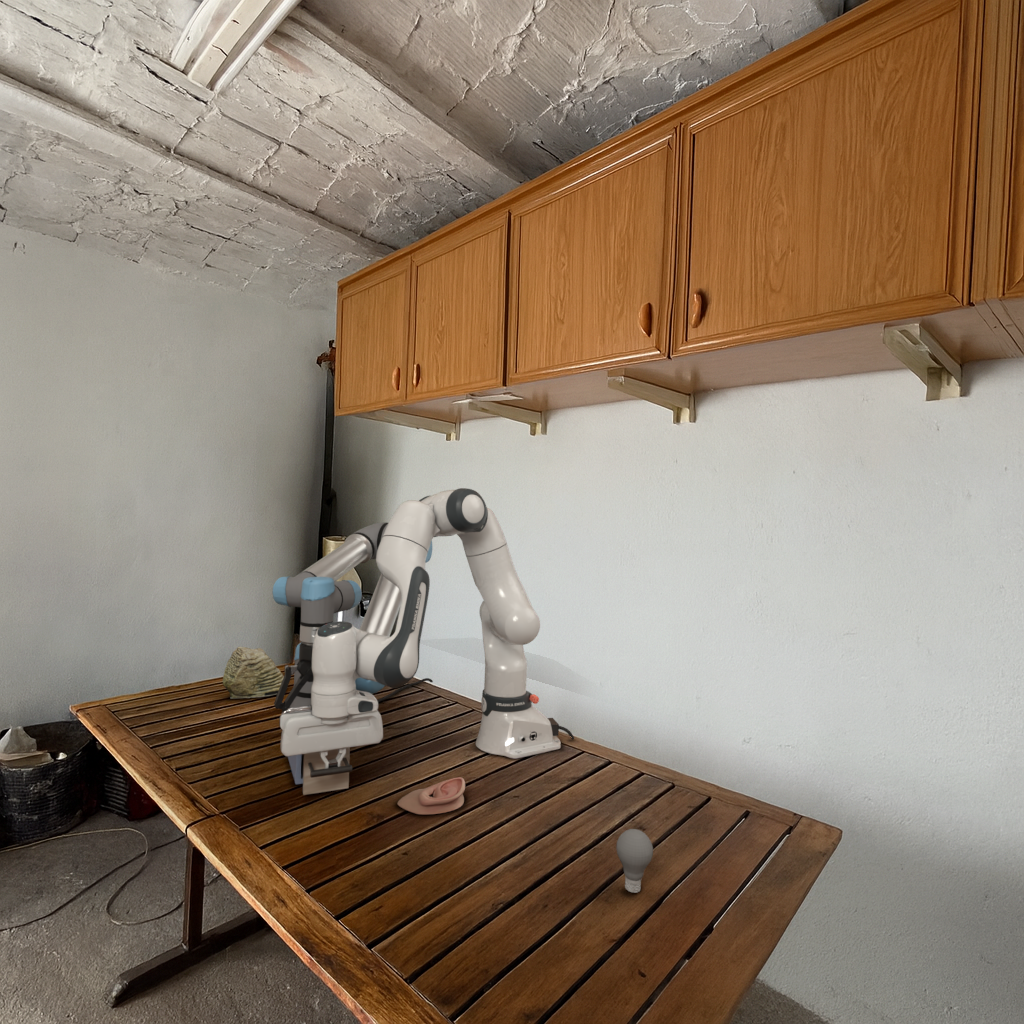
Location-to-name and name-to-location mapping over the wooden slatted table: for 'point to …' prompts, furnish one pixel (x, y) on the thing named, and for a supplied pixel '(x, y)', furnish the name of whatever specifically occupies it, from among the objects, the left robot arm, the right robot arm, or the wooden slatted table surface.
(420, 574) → the right robot arm
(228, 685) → the fossil
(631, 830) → the light bulb
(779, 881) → the wooden slatted table surface
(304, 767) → the drawer
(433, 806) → the anatomical model
